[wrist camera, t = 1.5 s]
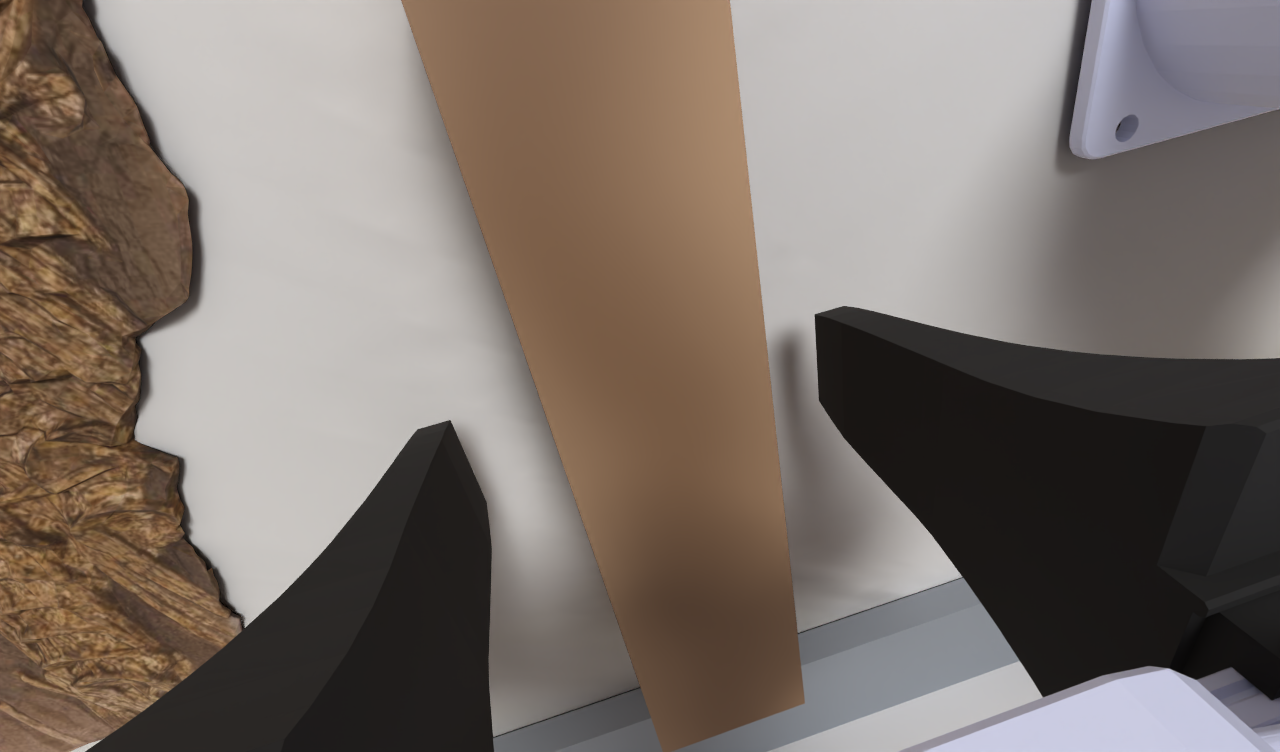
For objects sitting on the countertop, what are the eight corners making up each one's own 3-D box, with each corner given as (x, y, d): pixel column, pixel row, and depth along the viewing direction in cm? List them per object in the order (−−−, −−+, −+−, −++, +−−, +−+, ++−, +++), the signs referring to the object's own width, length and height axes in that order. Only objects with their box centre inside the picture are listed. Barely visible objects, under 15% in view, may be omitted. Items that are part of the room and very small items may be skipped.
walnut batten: (627, -107, 9) (708, -189, 6) (742, 575, 18) (804, 703, 14) (405, -57, 9) (359, -117, 6) (627, 614, 17) (663, 754, 14)
